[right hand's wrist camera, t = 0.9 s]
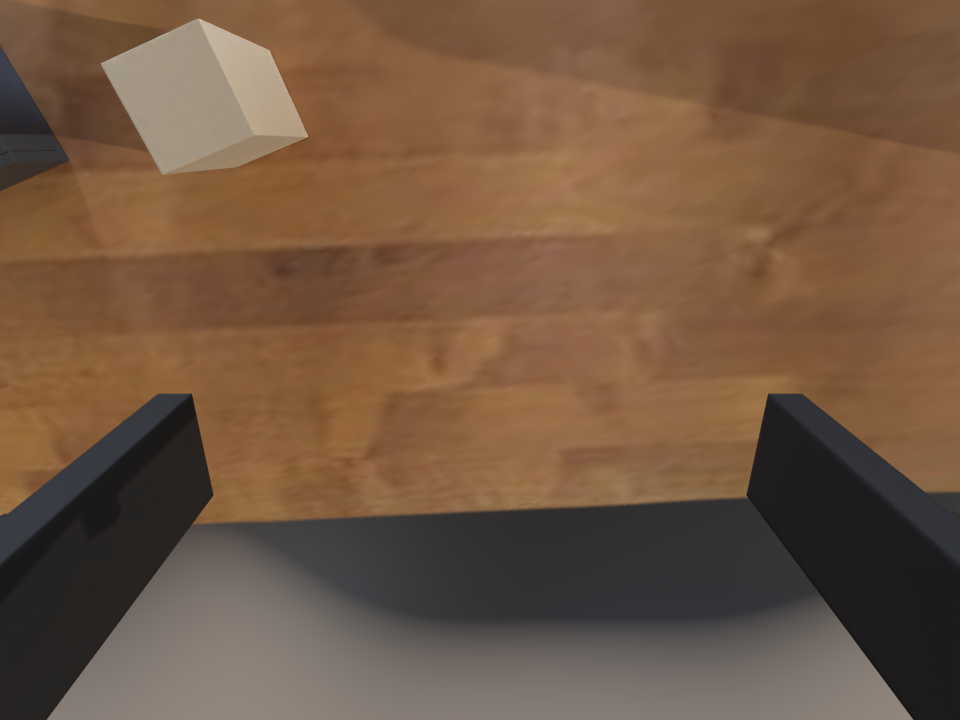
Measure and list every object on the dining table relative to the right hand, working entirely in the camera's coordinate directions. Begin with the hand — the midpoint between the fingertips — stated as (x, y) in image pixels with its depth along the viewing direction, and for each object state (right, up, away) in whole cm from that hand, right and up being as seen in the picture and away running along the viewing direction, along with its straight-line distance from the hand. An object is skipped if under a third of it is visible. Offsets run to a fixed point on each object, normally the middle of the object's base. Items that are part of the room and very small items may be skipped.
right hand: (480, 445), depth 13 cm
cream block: (-13, +16, +19) cm, 28 cm away
